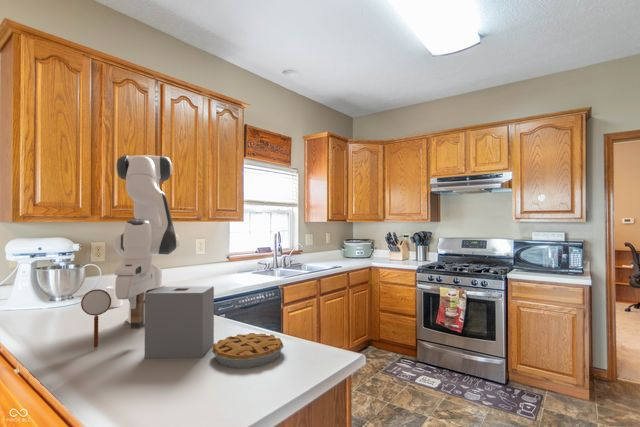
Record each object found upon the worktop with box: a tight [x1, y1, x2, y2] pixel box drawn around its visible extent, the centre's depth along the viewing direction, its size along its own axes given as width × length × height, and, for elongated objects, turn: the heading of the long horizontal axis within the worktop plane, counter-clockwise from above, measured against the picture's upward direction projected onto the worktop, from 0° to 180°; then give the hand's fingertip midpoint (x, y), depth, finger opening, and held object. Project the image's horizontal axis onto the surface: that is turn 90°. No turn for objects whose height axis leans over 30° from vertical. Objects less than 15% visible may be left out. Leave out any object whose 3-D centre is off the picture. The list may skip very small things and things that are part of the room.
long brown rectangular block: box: [130, 292, 145, 330], centre depth 123 cm, size 3×3×16 cm
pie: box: [211, 332, 285, 369], centre depth 112 cm, size 22×22×5 cm
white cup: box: [105, 285, 124, 309], centre depth 183 cm, size 8×8×10 cm
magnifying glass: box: [80, 288, 111, 351], centre depth 119 cm, size 9×2×20 cm, turn 114°
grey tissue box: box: [144, 285, 215, 359], centre depth 117 cm, size 12×18×20 cm, turn 90°
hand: (137, 306), depth 123 cm, fingers closed on long brown rectangular block, 3 cm apart
